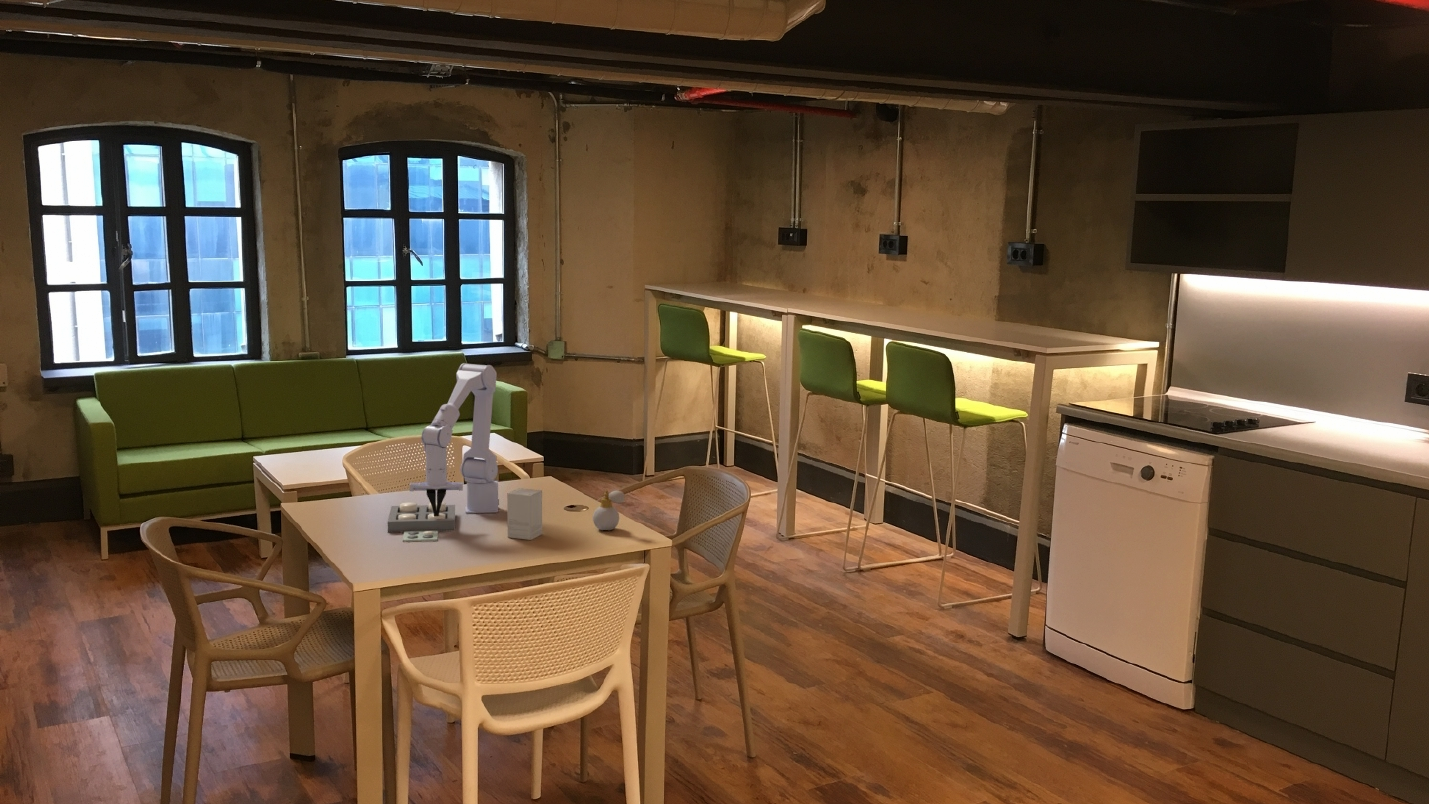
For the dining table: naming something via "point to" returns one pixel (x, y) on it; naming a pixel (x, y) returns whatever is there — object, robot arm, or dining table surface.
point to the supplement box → (524, 513)
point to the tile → (420, 536)
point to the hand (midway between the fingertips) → (436, 515)
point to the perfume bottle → (608, 511)
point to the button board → (421, 520)
